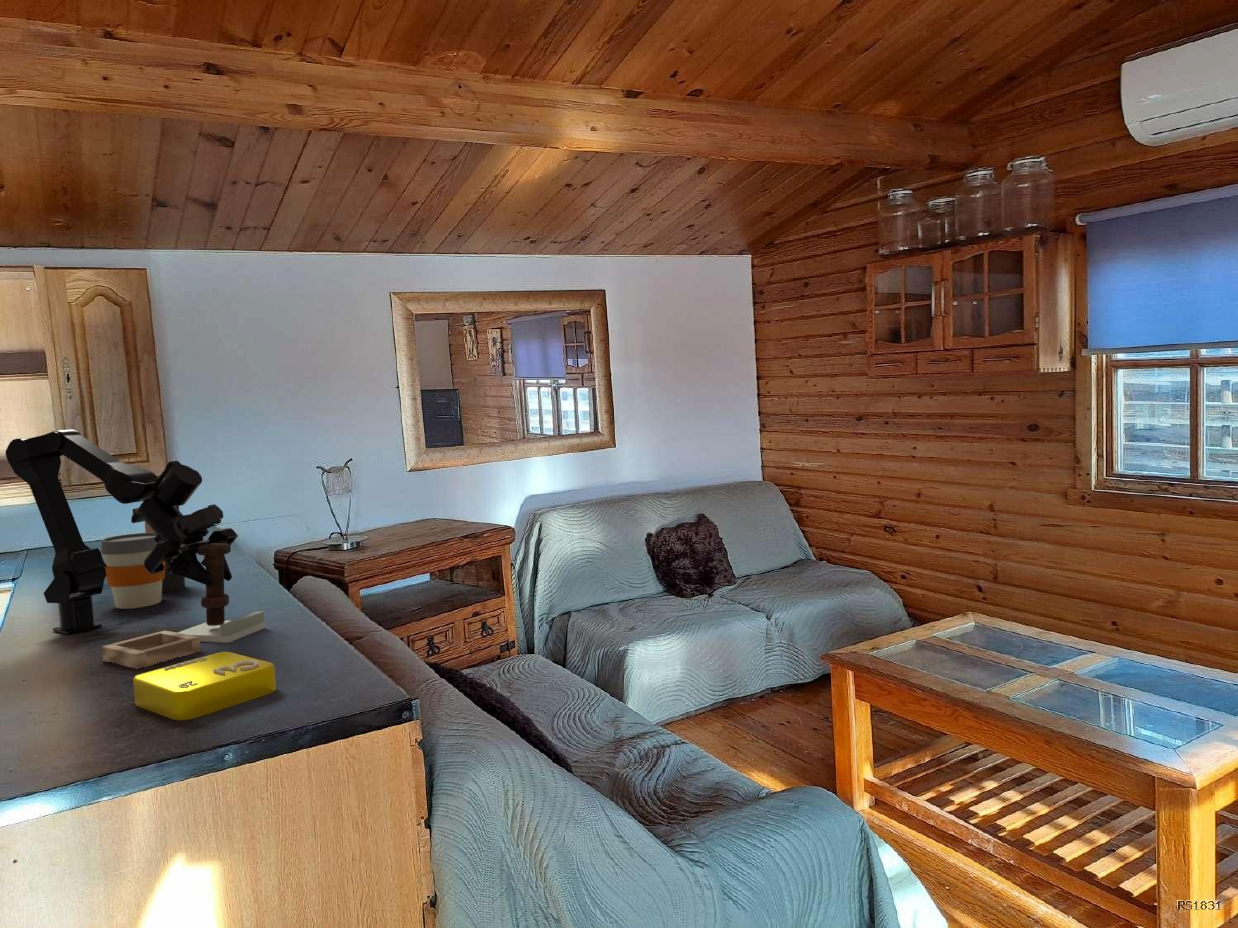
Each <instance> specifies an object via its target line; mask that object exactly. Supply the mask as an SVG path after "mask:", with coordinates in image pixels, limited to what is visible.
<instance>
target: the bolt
mask: <svg viewBox="0 0 1238 928" xmlns="http://www.w3.org/2000/svg"><path fill="white" fill-rule="evenodd" d="M231 546H232V545H231ZM231 546H230V545H229V544H225V543H213V544H204V545H200V546H199V547H198V553H197V556H201V555H204V557H205V565H206V566H204V568H205V570H206V571H207V572H208V574H209V575H210V576H211V578H212V579H213V581H214V584H213V585H212V586H207V585H205V595H202V597H201V599H200V606H201V607H202V608H204V609H205V610H206V615H205V617H206V618H205V619H206V620H205V621H206V622H207V623H206V622H205V623H206V624H207V625H208V626H217V625H222V624H224V622H225V621H224V620H226V619H225V618H226V617H225V616H226V614H225V613H226V612H225V607H227V606H228V605H229V603H230V596H229V595H228V594H226V593H225V579H224V575H223V574H224V566H223V565H224V561H225V560H224V555H228V554H229V553H231V551H232V550H231V549H232V547H231Z"/></svg>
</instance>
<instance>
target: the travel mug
mask: <svg viewBox="0 0 1238 928" xmlns="http://www.w3.org/2000/svg"><path fill="white" fill-rule="evenodd" d="M176 508H177V509H178V510H179V511H180V506H177V505H176ZM144 530H145V532H144V533H155V532H154V531H153V530H152V529H151V528H150V526H149V525H148V524H147V523H146V522H145V521H144ZM169 568H170V565H169V562H168V561H165V578H164V579H163V580H162V593H168V592H174V591H179V590H182V589H185V588H186V580H185V579H186V577H183V576H180V575H176V574H173V573H170V574H169V573H168V572H167V570H168V569H169Z"/></svg>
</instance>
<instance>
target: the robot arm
mask: <svg viewBox="0 0 1238 928" xmlns="http://www.w3.org/2000/svg"><path fill="white" fill-rule="evenodd" d="M62 456H64V457H66V458H67V459H69V460H70V461H72V462H73V463H75V464H77V465H78V466H79V467H81V468H83V469H84V470H86V471H87V472H89V474H92V475H93V476H94V477H96V478H98V479H99V480H100V481H101V482H102V483H103V485H104V487H105V490H106V492H107V493H108V494H109V495H110V496H112V497H113V498H114V500H116V501H117V502H118V503H120V504H122V505H123V504H124V505H126V504H132V503H140V502H141V504H140V505H139V506H138V507H135V508H133V509H132V515H131V519H130V521H131V524H132V523H133V524H136V523H141V522H142V523H143V522H144V523H145V522H146V523H147V524H148V525H149V526H150V528H151V529H152V530H153V531H154V532H155V533H156V534H157V536H156V537H155V538H154V540H155V541H156V542H157V543H159V544H156V546H155V547H154V548H153V550H152V551H151V552H150V553H149V555H148V556H147V557H146V559H145V560H144V566H145V569H146V570H147V571H148V572H149V573H150V574H151V575H153V574H156V573H160V572H162V571H163V570H164V565H163V564H162V562H163V561H168V562H169V565H170V568H169V569H168V570H167V572H168V573H169V574H170V573H173V574H176V575H180V576H183V577H185V579H190V580H192V581H194V582H197V583H200V584H201V585H205V586H206V585H207V586H212V585H213V584H214V581H213V579H212V578H211V576H210V575H209V574H208V572H207V571H206V569H205V568H206V567H205V566H206V565H205V557H204V555H200V556H201V557H202V558H203V559H202V561H201V562H200V561H199V559H198V557H197V556H198V547H199V546H200V545H204V544H213V543H225V544H229V545H230V546H232V544H233V543H234V542H235V540H237V538H238V537H239V535H238V533H236V532H235V530H234V529H233V528H232V527H231V528H230V527H228V528H227V527H225V528H221V529H217V530H213V531H212V533H211V534H210V535H209V537H208V538H207V539H204V538H205V537H206V536H207V535H208V534H209V532H210V531H209V530H208V529H210V528H212V527H213V526H215V525H219V524H221V523H222V519H223V518H224V511H223V510H222V509H221V508H220V507H219V506H218V505H217V504H215V503H214V504H209V505H207V507H204V508H200V509H198V510H196V511H194V512H192V513H190V514H183V513H182V512H181V511H180V509H179V510H178V509H177V508H176V505H177V506H179V507H180V506H184V505H185V504H186V503H187V502H188V501H189V500H190V498H192V497H191V496H193V494H194V493H195V492H196V491H197V489H198V488H199V486H200V485H201V484H202V482H203V478H202V476H201V474H200V473H199V471H198V470H196V469H194V468H192V467H190V466H188V465H185V464H182V463H181V462H180V461H179V460H171V461H168V463H167V464H166V466H165V468H164V470H163V471H162V472H161V474H160V475H159V476H157V475H156V474H155V473H154V472H152V470H151V471H150V470H148V469H145V468H143V467H141V466H137V465H132V464H128V463H125V462H122V461H121V460H119V459H118V458H116V457H114V456H113V455H112V454H110V453H108V452H107V451H105V449H102V448H100V447H99V446H98V445H96V444H94V443H93V442H91V441H90V440H89V439H87V438H86V437H84V436H83V435H82V434H81V433H80V432H79V431H77V430H75V429H59V430H58V429H57V430H53V431H51V432H48V433H46V434H45V433H44V434H42V435H37V436H34V437H24V438H23V437H20V438H14V439H12V440H11V441H9V444H8V445H7V448H6V449H5V457H6V460H7V462H8V463H9V465H10V467H11V469H12V470H13V471H12V472H14V474H15V475H16V476H18V477H19V478H20V479H21V480H22V481H24V482H25V483H27V485H28V486H29V488H30V490H31V494H32V497H33V498H34V501H35V503H36V506H37V509H38V510H39V514H40V516H41V519H42V521H43V524H44V526H45V529H46V532H47V534H48V537H49V540H50V541H51V545H52V548H53V549H54V558H53V562H52V564H51V565H52V566H51V570H52V575H53V579H52V581H51V582H50V584H49V585H48V586H47V588H46V589H45V591H44V592H43V596H44V598H45V601H46V603H48V604H58V614H59V617H58V618H59V625H60V626H58V627H57V626H56V627H53V628H52V631H53V632H58V633H62V634H67V635H71V634H75V633H78V632H79V633H80V632H83V631H88V630H91V629H97V628H100V627H103V623H101V622H96V621H95V616H94V607H93V606H94V604H93V597H92V596H96V595H100V594H102V593H103V589H104V584H105V580H106V569H105V567H107V565H106V564H105V561H104V558H103V556H102V555H103V554H102V553H101V549H99V548H98V547H96V548H91V547H89V546H88V545H86V544H85V542H84V541H83V538H82V535H81V532H80V531H79V528H78V525H77V522H76V520H75V518H74V515H73V512H72V509H71V507H70V505H69V501H68V500H67V497H66V495H65V492H64V489H63V486H62V483H61V481H60V479H59V473H60V469H61V465H62V459H61V457H62ZM160 542H163V543H160ZM226 559H227V558H226V554H224V560H225V561H224V565H223V566H224V574H223V575H224V581H227V582H229V581H231V579H232V578H233V575H232V573H231V570H230V567H229V565H228V562H227V560H226Z"/></svg>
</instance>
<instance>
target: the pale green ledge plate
mask: <svg viewBox="0 0 1238 928" xmlns="http://www.w3.org/2000/svg"><path fill="white" fill-rule="evenodd" d="M224 621H225V622H224V624H222V625H217V626H208V625H207V624H206V623H207V622H203V623H200V624H198V625H194V626H192V627H190V628H187V629H183V630H181V631H179V632H177V633H181V634H186V635H191V636H196V637H200V643H201V642H203V643H206V642H207V643H222V644H225V643H227V644H228V643H232V642H234V641H236V640H239V639H241V638H243V637H246V636H250V635H252V634H254V633H256V632H259V631H261V630H263V629H265V628H266V624H265V623H266V621H265V611H263V610H262V611H260V610H259V611H254V612H252V613H249V614H247V615H244V616H241V617H239V618H238V617H237V618H236V619H232V620H226V619H225V620H224Z"/></svg>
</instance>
